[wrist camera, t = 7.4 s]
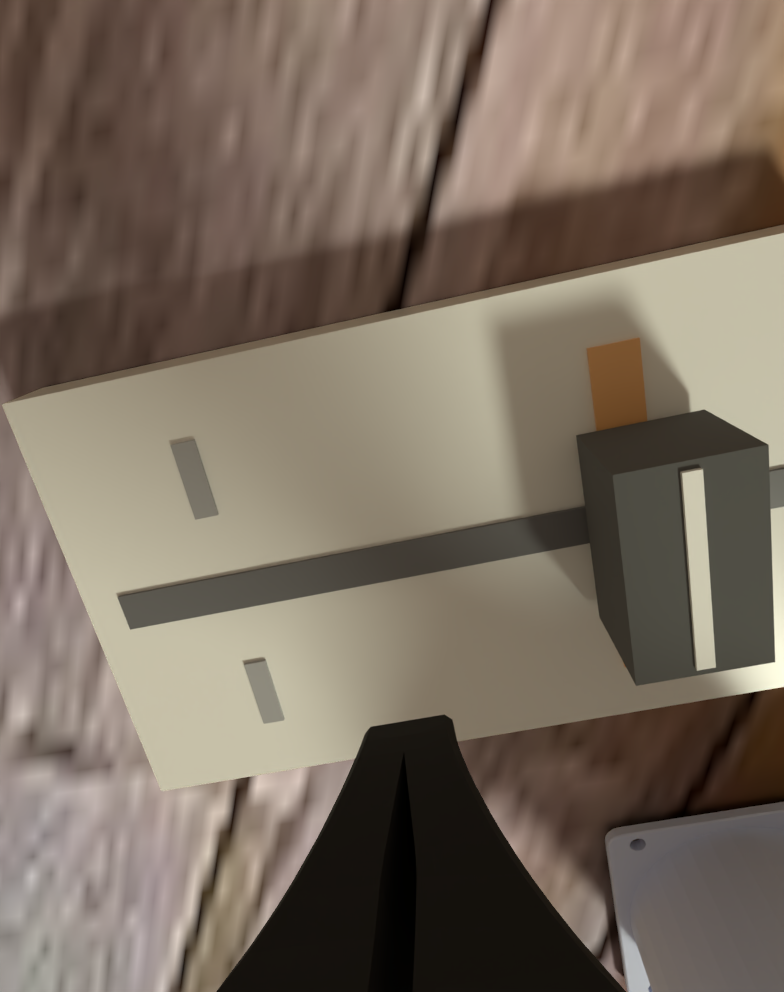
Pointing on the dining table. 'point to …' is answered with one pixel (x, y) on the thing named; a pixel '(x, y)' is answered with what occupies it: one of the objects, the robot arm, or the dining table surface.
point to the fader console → (394, 508)
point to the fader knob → (681, 544)
